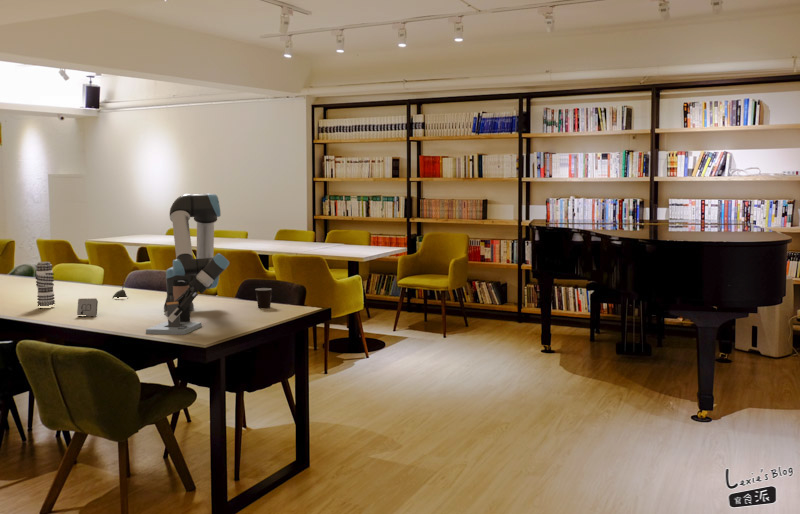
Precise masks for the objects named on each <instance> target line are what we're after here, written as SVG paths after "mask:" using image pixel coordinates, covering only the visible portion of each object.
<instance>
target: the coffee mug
mask: <svg viewBox="0 0 800 514" xmlns="http://www.w3.org/2000/svg"><path fill="white" fill-rule="evenodd" d="M272 293H273V288H269V287H261V288H259V287H258V288H255V296H256V301H257V308H258V309H259V308H267V309H270V308H271V303H272Z"/></svg>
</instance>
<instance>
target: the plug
mask: <svg viewBox="0 0 800 514" xmlns="http://www.w3.org/2000/svg"><path fill="white" fill-rule="evenodd" d="M170 301H171V302H168V303H166V304H167V315H168V317H169V316H170V315H171V314H172V313H173V312H174V311H175V310H176V308H177V306H179V302H174V296H170ZM168 317H167V318H168ZM167 322H168V327H180V326H181V325H180V315H179V316H178V317H177V318H176V319H175V320H174V321H173V322H171V321H169V320H168V319H167Z"/></svg>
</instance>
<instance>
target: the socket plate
mask: <svg viewBox="0 0 800 514" xmlns="http://www.w3.org/2000/svg"><path fill="white" fill-rule="evenodd" d="M180 325H181V326H180V327H168V321H163V322H160V323H158V324H155V325H154V326H151V327H148V328H146V329H145V334H147V335H150V334H151V335H182V336H183V335H186V334H188V333H190V332H193V331H195V330H197V329H200V328H201V327H202V322H201V321H198V322H197V321H196V322H195V321H189V322H180Z"/></svg>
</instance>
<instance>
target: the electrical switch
mask: <svg viewBox="0 0 800 514" xmlns="http://www.w3.org/2000/svg"><path fill="white" fill-rule="evenodd" d="M98 303H99V302H98V299H97V298H96V297H95V298H94V297H93V298H78V300H77V310H76V312H77V313H76V316H77V315H86V316H95V317H97V316H98ZM96 315H97V316H96Z"/></svg>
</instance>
